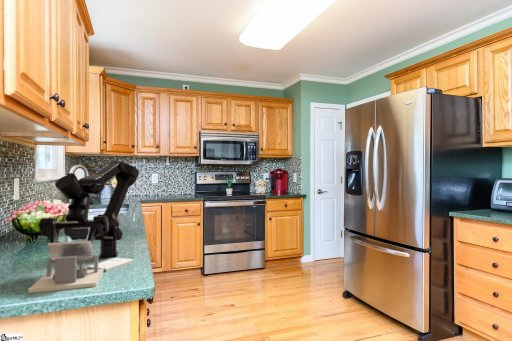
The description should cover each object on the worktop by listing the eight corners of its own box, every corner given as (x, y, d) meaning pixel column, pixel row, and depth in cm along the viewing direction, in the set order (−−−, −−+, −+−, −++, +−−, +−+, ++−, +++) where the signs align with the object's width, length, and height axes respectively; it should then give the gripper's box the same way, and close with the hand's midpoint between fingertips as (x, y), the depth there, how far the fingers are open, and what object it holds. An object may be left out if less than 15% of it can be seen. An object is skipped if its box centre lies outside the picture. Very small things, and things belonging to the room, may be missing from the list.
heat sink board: (46, 276, 96) (46, 250, 96) (103, 271, 101) (103, 246, 101) (28, 293, 83) (28, 262, 83) (95, 286, 88) (95, 257, 88)
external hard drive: (86, 271, 103) (115, 261, 115) (106, 273, 101) (133, 263, 112) (86, 266, 103) (115, 257, 115) (106, 268, 101) (133, 258, 112)
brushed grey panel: (53, 260, 95) (48, 242, 91) (93, 257, 98) (91, 240, 94) (52, 263, 94) (47, 245, 90) (93, 260, 97) (90, 243, 93)
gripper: (112, 221, 112) (107, 260, 101) (52, 224, 107) (40, 265, 96) (109, 201, 105) (103, 240, 94) (44, 202, 99) (30, 244, 89)
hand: (70, 248), depth 93 cm, fingers open, 9 cm apart
